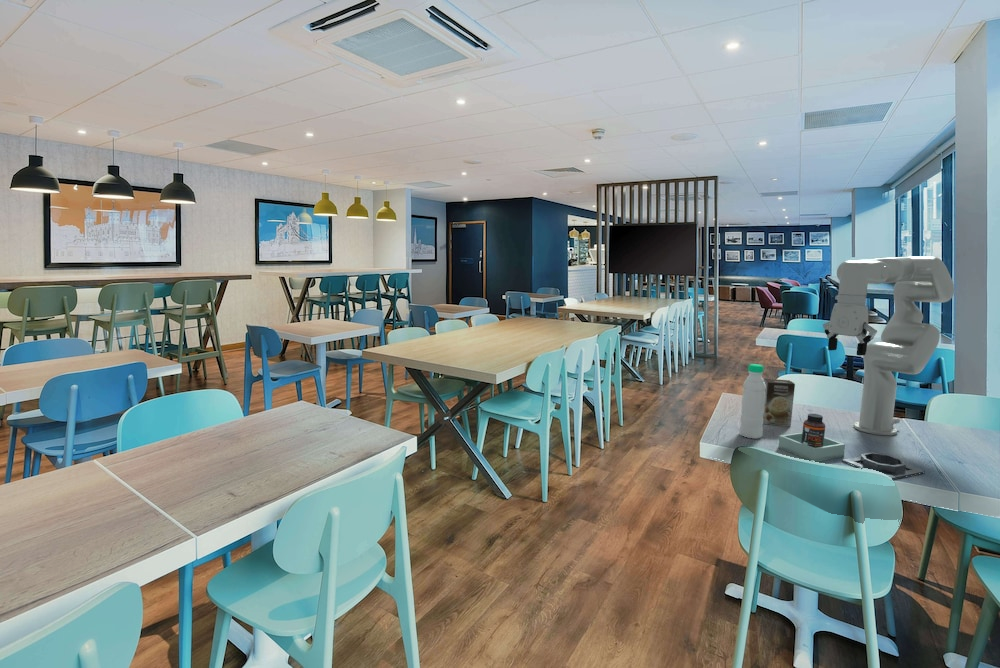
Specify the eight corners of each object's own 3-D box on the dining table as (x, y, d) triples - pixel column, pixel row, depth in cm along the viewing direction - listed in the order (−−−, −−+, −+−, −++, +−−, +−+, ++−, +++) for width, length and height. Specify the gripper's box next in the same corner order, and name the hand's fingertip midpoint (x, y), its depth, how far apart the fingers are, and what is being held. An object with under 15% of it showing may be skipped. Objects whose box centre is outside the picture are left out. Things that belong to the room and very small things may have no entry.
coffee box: (764, 424, 190) (767, 382, 188) (759, 419, 196) (762, 378, 194) (791, 426, 188) (795, 383, 186) (786, 421, 194) (789, 379, 192)
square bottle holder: (874, 455, 160) (875, 448, 160) (924, 473, 147) (925, 465, 147) (842, 461, 155) (842, 453, 155) (890, 480, 142) (891, 471, 142)
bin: (807, 443, 171) (808, 431, 171) (843, 456, 159) (845, 444, 159) (778, 447, 167) (779, 435, 166) (813, 461, 155) (815, 449, 155)
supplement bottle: (805, 452, 160) (809, 417, 159) (797, 445, 166) (800, 411, 165) (826, 453, 160) (830, 418, 158) (817, 446, 165) (820, 412, 164)
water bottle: (764, 440, 174) (770, 367, 170) (742, 438, 175) (747, 366, 172) (758, 433, 181) (764, 363, 177) (737, 431, 182) (742, 362, 178)
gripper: (818, 298, 172) (813, 348, 175) (870, 302, 156) (864, 358, 159) (834, 298, 175) (829, 347, 178) (887, 302, 159) (881, 356, 161)
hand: (846, 352), depth 168 cm, fingers open, 9 cm apart
